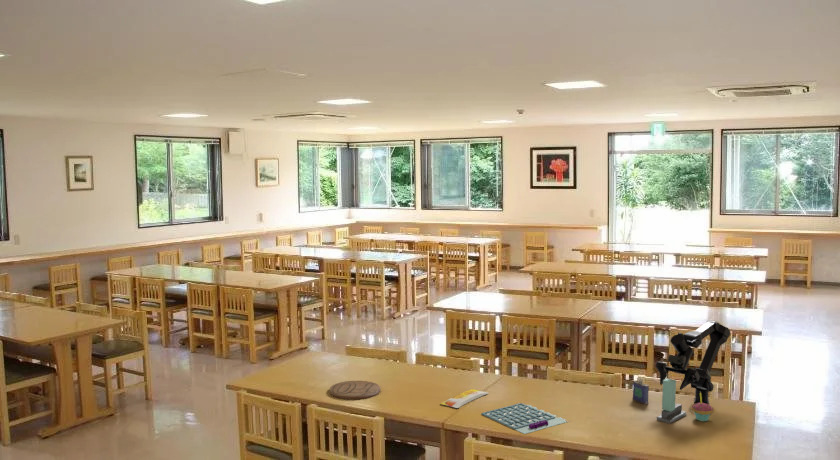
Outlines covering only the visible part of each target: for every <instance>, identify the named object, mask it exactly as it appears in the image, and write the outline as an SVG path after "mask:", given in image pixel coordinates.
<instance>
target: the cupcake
mask: <svg viewBox="0 0 840 460" xmlns="http://www.w3.org/2000/svg"><path fill="white" fill-rule="evenodd" d="M692 411H693V413H694V415H695V419H696V421H697V420H698V421H700V422H708V421H709V418H710V416H711V415H712V414H714V411H715V410H714V407H712V405H710V403H709V404H705V403H702V397H701V392H700V403H694V404H693V405H692Z"/></svg>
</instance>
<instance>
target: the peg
mask: <svg viewBox="0 0 840 460" xmlns="http://www.w3.org/2000/svg"><path fill="white" fill-rule="evenodd" d="M676 386H677V380H676V379H672V378H667V377H666V379H665V380H663V384H662V399H661V400H662V401H661V410H667V411H670V412H671V411H673V410H675V404H676V392H677V391H676V390H677V389H676V388H677V387H676Z"/></svg>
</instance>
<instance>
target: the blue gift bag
mask: <svg viewBox="0 0 840 460" xmlns="http://www.w3.org/2000/svg"><path fill="white" fill-rule="evenodd" d="M643 381H644V380H643V379H638V380H633V387H632V388H633V389H632V400H633V401H634V402H635V403H636V402H637V403H639V404H642V405H648V404H649V387H650V385H649V384H646V383H643Z"/></svg>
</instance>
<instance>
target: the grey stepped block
mask: <svg viewBox="0 0 840 460" xmlns="http://www.w3.org/2000/svg"><path fill="white" fill-rule="evenodd" d="M685 416H687V411H684V410H683V404H680V403H676V402H675V410H673V411H671V412H670V411H667V410H663V409H661V414H660V415H657V417H656V420H657V421H659V422H662V423H666V424H669V425H670V424H672V423H674V422H676V421H677V420H680V419H682V418H683V417H685Z"/></svg>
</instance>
